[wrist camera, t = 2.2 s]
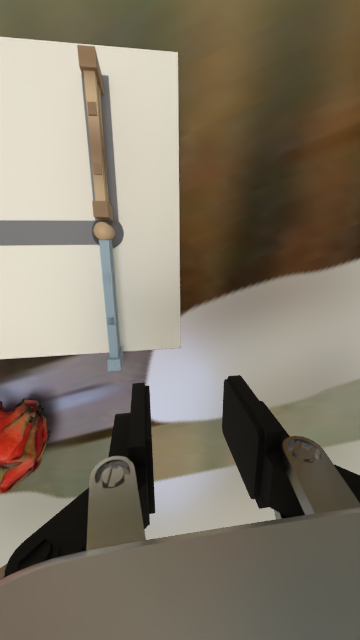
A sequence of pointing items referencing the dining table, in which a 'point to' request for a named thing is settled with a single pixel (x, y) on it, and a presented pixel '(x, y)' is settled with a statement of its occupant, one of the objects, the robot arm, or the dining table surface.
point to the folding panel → (110, 294)
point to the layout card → (87, 200)
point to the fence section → (95, 129)
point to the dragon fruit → (21, 442)
